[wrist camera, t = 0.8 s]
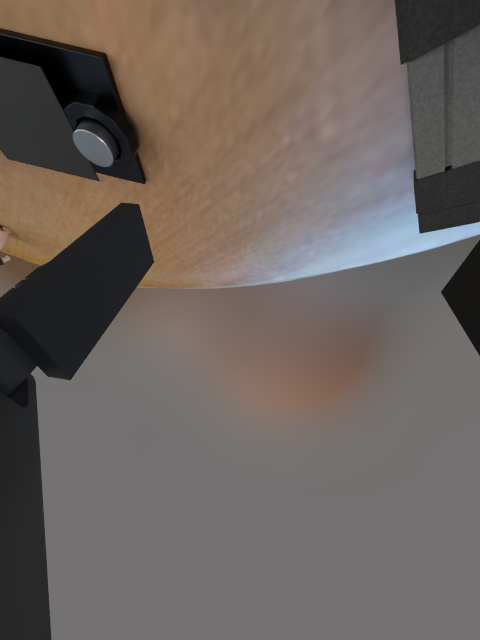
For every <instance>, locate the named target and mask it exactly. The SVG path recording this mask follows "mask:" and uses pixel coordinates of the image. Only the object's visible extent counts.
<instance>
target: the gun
mask: <svg viewBox="0 0 480 640" xmlns="http://www.w3.org/2000/svg"><path fill="white" fill-rule="evenodd" d="M395 6H396V17H397V28H398V39H399V49H400V60H401V65H402V64H403V63H406V62H407V71H408V83H409V96H410V108H411V121H412V133H413V146H414V158H415V170H414V191H415V203H416V214H418V221H419V231H420V233H425V232H431V231H436V230H441V229H446V228H451V227H456V226H461V225H466V224H471V223H477V222H480V0H395Z"/></svg>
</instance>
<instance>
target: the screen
mask: <svg viewBox="0 0 480 640" xmlns="http://www.w3.org/2000/svg"><path fill="white" fill-rule="evenodd" d="M73 133H74V130H73V128H72V126H71V124H70V122H69V121H68V119H67V117H66V115H65V113H64V111H63V109H62V107H61V105H60V103H59V101H58V99H57V97H56V95H55V94H54V92H53V90H52V88H51V86H50V84H49V82H48V80H47V78H46V76H45V74H44V72H43V70H42V68H41V67H40V66H36V65H32V64H28V63H24V62H20V61H15V60H11V59H7V58H3V57H0V150H1V151H2V152H3V153H4V155H5V156H6V157H7V158H8V159H10V160H14V161H18V162H22V163H26V164H30V165H35V166H39V167H43V168H47V169H51V170H55V171H59V172H63V173H67V174H72V175H76V176H80V177H84V178H88V179H92V180H96V181H100V180H99V178H98V176H97V175H96V173H95V171H94V169H93V167H92V165H91V163H90V161H89V160H88V159H87V158H86V157H85V156H83V155H82V153H81V152H80V151H79V150H78V148H77V147H76V145H75V143H74V141H73Z"/></svg>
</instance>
